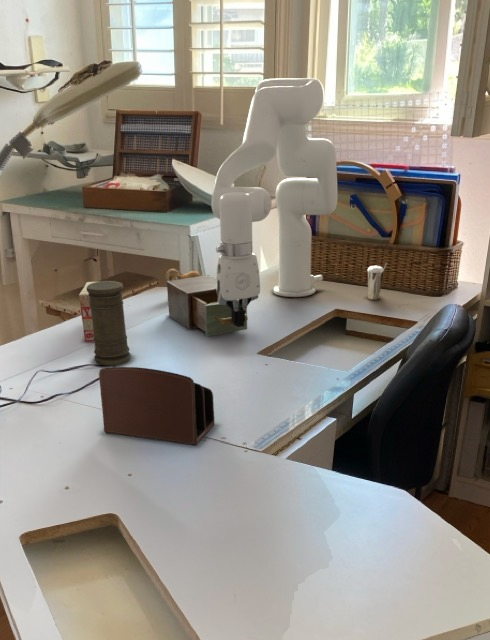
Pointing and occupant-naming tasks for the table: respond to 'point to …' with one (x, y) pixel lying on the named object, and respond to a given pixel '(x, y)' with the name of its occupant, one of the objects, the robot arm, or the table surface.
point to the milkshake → (374, 281)
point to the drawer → (213, 315)
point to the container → (108, 323)
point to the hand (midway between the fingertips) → (238, 325)
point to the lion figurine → (180, 275)
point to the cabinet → (187, 297)
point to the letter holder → (155, 405)
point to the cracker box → (86, 314)
